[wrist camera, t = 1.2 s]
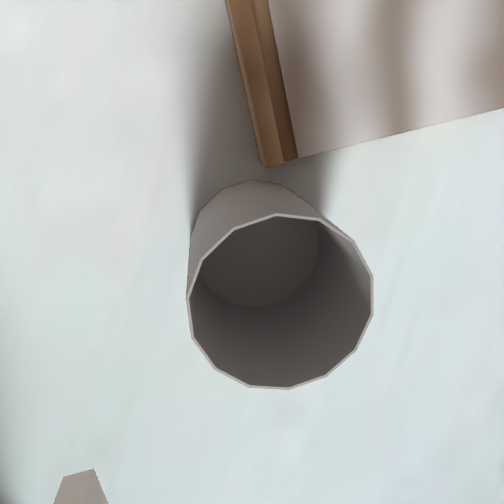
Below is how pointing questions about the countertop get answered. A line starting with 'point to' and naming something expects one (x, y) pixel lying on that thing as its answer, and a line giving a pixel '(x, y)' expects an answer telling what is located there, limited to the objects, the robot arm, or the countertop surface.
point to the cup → (274, 288)
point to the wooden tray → (363, 68)
